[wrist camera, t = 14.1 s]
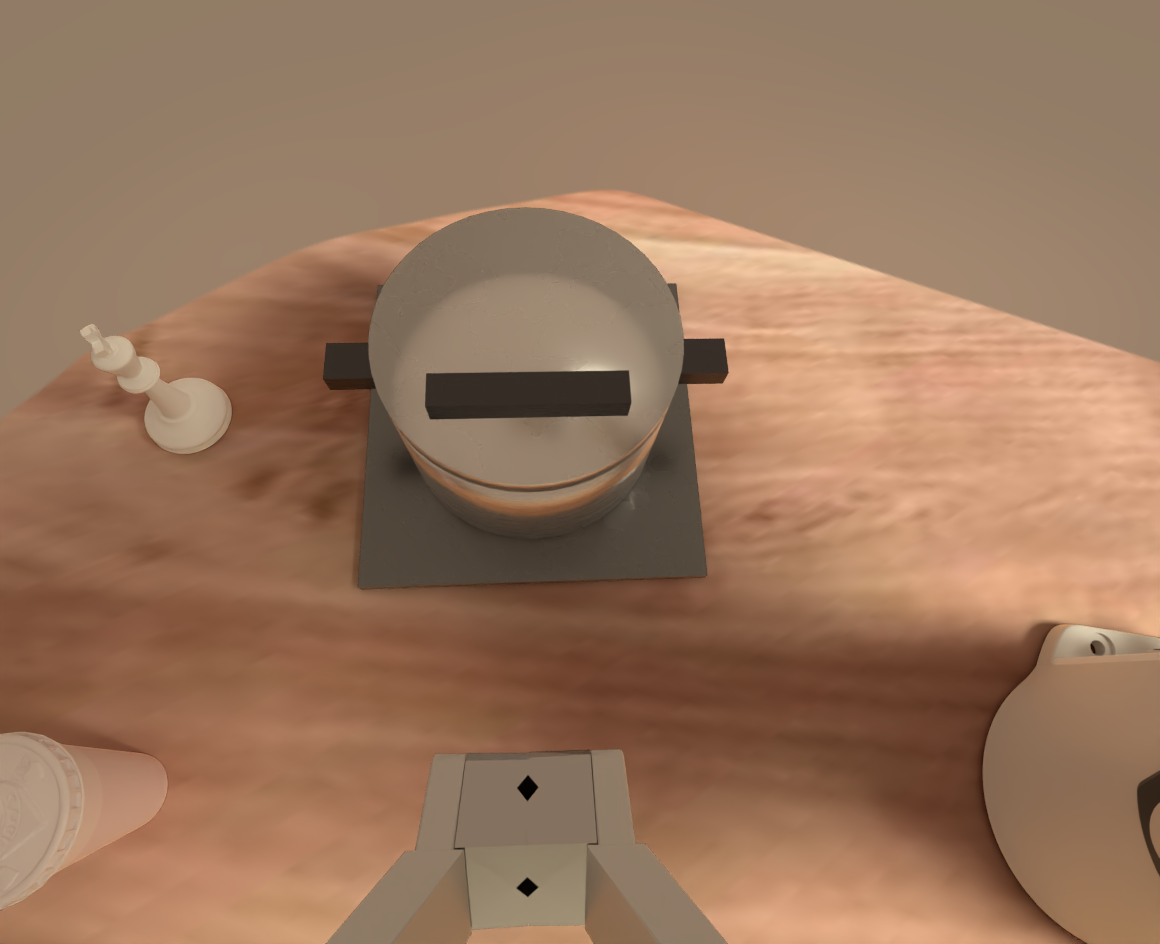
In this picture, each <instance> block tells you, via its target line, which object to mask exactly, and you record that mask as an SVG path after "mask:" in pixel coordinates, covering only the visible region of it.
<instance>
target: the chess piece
mask: <svg viewBox="0 0 1160 944" xmlns="http://www.w3.org/2000/svg"><path fill="white" fill-rule="evenodd" d="M80 333H81V335H82V337H83V338H84V339H86V340H87V341H88V342H90V343H91V345H92V347H93V348H92V351H91V361H92V363H93V365H94V366H95V367H96V368H98V369H99V370H102V371H104V372H108V373H113V374H117V380H118V383H119V385H120V386H121V388H122V389H123V390H125V391H127V392H129V393H142V392H144V393H145V394H146V395H147V396H148V397H149V398H150V401H149V403H148V405H147V407H146V410H145V415H144V423H145V427H146V430H147V432H148V434H149V436H150V437H151V438H152V439H153V440H154V441H155V443H156V444H157V445H158V446H160V447H161V448H163V449H164V450H166V451H169V452H172V453H176V454H191V453H196V452H199V451H202V450H204V449H206V448H208V447H210V446H211V445H213V444H214V443H216V442H217V441H218V440H219V439H220V438H221V437H222V436H223V434H224V433H225V432H226V430H227V428H228V426H229V424H230V421H231V416H232V407H231V402H230V400H229V398H228V396H227V394H226V393H225V392H224V391H223V390H222V389H221V388H220V387H218V386H216V385H215V384H213V383H212V382H210V381H207V380H205V379H201V378H182V379H178V380H175V381H172V382H170V383H166V382H164V381H163V380H161V379H159V377H160V368H159V366H158V364H157V363H156V362H155V361H153V360H152V359H149V358H146V357H137V355H136V351H135V349H134V347H133V345H132V343H131V342H130V341H129V340H128V339H126V338H124V337H122V336H108V337H105V338H102V335H101V333H100V331H99V329H98V328H97V327H96V326H95V325H94V324H90V325H88V326H85V327H84V328H83V329H81V330H80Z"/></svg>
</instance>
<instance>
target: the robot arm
mask: <svg viewBox="0 0 1160 944" xmlns="http://www.w3.org/2000/svg"><path fill="white" fill-rule="evenodd" d="M1091 643H1092V644H1093V646H1094V647H1095V654H1094V653H1093V652H1092V651H1091V648H1090V644H1091ZM983 789H984V797H985V803H986V808H987V812H988V816H989V820H990V823H991V827H992V830H993V833H994V835H995V838H996V840H997V843H998V845H999V847H1000V850H1001V852H1002V854H1003V856H1004V858H1005V860H1006V862H1007V864H1008V865H1009V867H1010V869H1011V870H1012V872H1013V874H1014V875H1015V877H1016V878H1017V880H1018V881H1019V883H1020V884H1021V885H1022V887H1023V888H1024V889H1025V891H1026V892H1027V893H1028V894H1029V896H1030V897H1031V898H1032V899H1033V900H1034V901H1035V903H1036V904H1037V905H1038V906H1039V907H1040V908H1041V909H1042V910H1043V911H1044V912H1045V913H1046V914H1047V915H1048V916H1049V917H1051V918H1052V919H1053V920H1054V921H1055V922H1056V923H1058V924H1059V925H1060V926H1061V927H1063V928H1064V929H1065V930H1067V931H1068V932H1070V933H1071V934H1072V935H1074V936H1076V937H1077V938H1079V939H1081V940H1082V941H1084V942H1085V943H1087V944H1160V638H1159V637H1153V636H1147V635H1140V634H1134V633H1128V632H1122V631H1116V630H1109V629H1103V628H1097V627H1091V626H1085V625H1077V624H1062V625H1057V626H1055V627H1053V628H1052V629H1051V630H1050V632H1049V633H1048V635H1047V637H1046V639H1045V641H1044V643H1043V646H1042V649H1041V652H1040V655H1039V658H1038V661H1037V664H1036V667H1035V668H1034V670H1033V671H1032V672H1031V673H1030V674H1029V676H1028V677H1027V678H1026V679H1025V680H1024V681H1022V682H1021V683H1020V684H1019V685H1018V686H1017V687H1016V688H1015V689H1014V690H1013V691H1012V692H1011V693H1010V694H1009V695H1008V697H1007V698H1006V699H1005V701H1004V702H1003V703H1002V705H1001V706H1000V708H999V710H998V711H997V713H996V715H995V717H994V719H993V722H992V724H991V727H990V730H989V733H988V736H987V740H986V745H985V750H984V757H983ZM528 923H529V926H568V925H585V929H586V931H587V933H588V935H589V936H590V938H591V940H592V942H593V943H594V944H728V943H727V942H726V941H725V939H724V938H723V937H722V936H721V935H720V933H719V932H718V931H717V930H716V929H715V927H714V926H713V925H712V924H711V923H710V921H709V920H708V919H707V918H706V916H705V915H704V914H703V913H702V912H701V910H700V909H699V908H698V907H697V906H696V904H695V903H694V902H693V901H692V900H691V898H690V897H689V896H688V895H687V893H686V892H685V891H684V890H683V889H682V887H681V886H680V885H679V884H678V883H677V881H676V880H675V879H674V878H673V876H672V875H671V874H670V873H669V872H668V870H667V869H666V868H665V867H664V866H663V864H662V863H661V862H660V861H659V860H658V858H657V857H656V856H655V855H654V853H653V852H652V851H651V850H650V849H649V847H648V846H647V845H646V844H645V843H636V842H635V835H634V827H633V820H632V812H631V805H630V797H629V790H628V782H627V775H626V767H625V760H624V754H623V752H622V750H621V749H614V750H591V751H590V750H570V751H545V752H529V753H463V754H435V756H434V758H433V760H432V763H431V767H430V773H429V778H428V783H427V789H426V794H425V799H424V805H423V810H422V815H421V821H420V826H419V831H418V837H417V842H416V847H415V851H405V852H404V853H403V854H402V856H401V857H400V858H399V859H398V860H397V861H396V863H395V864H394V865H393V866H392V867H391V868H390V870H389V871H388V872H387V873H386V874H385V875H384V876H383V878H382V879H381V880H380V881H379V882H378V883H377V885H376V886H375V887H374V888H373V889H372V890H371V892H370V893H369V894H368V895H367V896H366V897H365V899H364V900H363V901H362V902H361V903H360V904H359V906H358V907H357V908H356V909H355V910H354V911H353V913H352V914H351V915H350V916H349V917H348V918H347V920H346V921H345V922H344V923H343V924H342V925H341V927H340V928H339V929H338V930H337V931H336V932H335V934H334V935H333V936H332V937H331V938H330V939H329V941H328V942H327V943H326V944H466V942H467V941H468V939H469V937H470V936H471V930H476V929H490V928H505V927H519V926H528Z"/></svg>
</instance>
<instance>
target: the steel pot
mask: <svg viewBox="0 0 1160 944" xmlns="http://www.w3.org/2000/svg"><path fill="white" fill-rule="evenodd" d="M667 285H668V287H669V289H670V291H671V293H672V295H673V297H674V299H675V302H676V305H677V308H678V311H679V304H678V295H677V286H676V284H667ZM382 288H383V286H378V291H377V299H378V297H379V295H380V293H381V290H382ZM728 373H729V372H728V365H727V357H726V349H725V342H724V339H684V355H683V364H682V371H681V374H680V378H679V382H678V386H677V388H676V391H675V393H674V396H673V398H672V400H671V403H670V405H669V407H668V409H667V412H666V414H665V416H664V417H663V419H662V421H661V422H660V424H659V426H658V427H657V429H656V430H655V432H654V433H653V434H652V435H651V436H650V438H649V439H648V440H647V441H646V442H645V444H644V445H643V446H642V447H641V448H639V449H638V450H637V451H636V452H635V453H634V454H633V455H632V456H631V457H630V458H628V459H627V460H625V461H624V462H623V463H621V464H620V465H618V466H617V467H615V468H614V469H612V470H610V471H608V472H606V473H605V474H603V475H601V476H599V477H597V478H595V479H592V480H589V481H587V482H584V483H581V484H578V485H575V486H572V487H567V488H562V489H558V490H553V491H542V492H509V491H503V490H497V489H491V488H487V487H483V486H480V485H477V484H473V483H470V482H467V481H465V480H463V479H460V478H458V477H456V476H454V475H451V474H449V473H448V472H446V471H444V470H443V469H441V468H439V467H438V466H436V465H434V464H433V463H431V462H430V461H429V460H428V459H426V458H425V457H424V456H423V455H421V454H420V453H419V452H418V451H417V450H415V448H414V447H413V446H412V445H411V444H410V443H409V442H408V441H407V440H406V439H405V438H404V437H403V435H402V434H401V433H400V431H399V430H398V428H397V427H396V425H395V424H394V423H393V421H392V420H391V418H390V416H389V414H388V412H387V410H386V408H385V406H384V404H383V402H382V400H381V398H380V396H379V394H378V392H377V389H376V386H375V383H374V380H373V377H372V373H371V367H370V361H369V343H326V353H325V364H324V375H323V380H324V381H325V382H326V384H327V385H328V387H329V388H330V390H346V389H371V397H370V412H369V427H368V442H367V458H366V473H365V488H364V503H363V518H362V533H361V548H360V563H359V578H358V588H359V589H382V588H412V587H441V586H470V585H499V584H528V583H557V582H586V581H615V580H644V579H673V578H702V577H706V576H707V568H706V558H705V549H704V539H703V530H702V521H701V511H700V502H699V492H698V483H697V474H696V464H695V455H694V445H693V436H692V427H691V417H690V408H689V398H688V389H687V384H715V383H723V382H724V380H725V378H726V376H727V375H728Z"/></svg>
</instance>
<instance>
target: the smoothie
mask: <svg viewBox="0 0 1160 944" xmlns="http://www.w3.org/2000/svg"><path fill="white" fill-rule="evenodd" d="M167 789H168V780H167V774H166V771H165V769H164V767H163V766H162V764H161V763H160V762H159V761H158V760H157V759H156V758H154V757H153V756H151V755H148V754H144V753H136V752H127V751H118V750H110V749H101V748H92V747H83V746H75V745H66V744H60V743H58V742H56V741H54V740H52V739H50V738H48V737H46V736H44V735H42V734H36V733H29V732H23V731H21V732H12V733H3V734H0V910H2V909H4V908H7V907H9V906H12V905H14V904H17V903H19V902H21V901H22V900H23V899H25V898H26V897H28V896H29V895H31V894H32V893H33V892H35V891H36V890H38V889H39V888H41V887H42V886H43V885H44V884H45V883H46V882H47V881H48V879H49V878H50V877H51V876H52V875H54V874H56V873H57V872H59V871H61V870H63V869H64V868H66V867H68V866H70V865H72V864H74V863H76V862H77V861H79V860H81V859H83V858H85V857H87V856H88V855H90V854H92V853H94V852H96V851H98V850H99V849H101V848H103V847H105V846H107V845H109V844H111V843H112V842H114V841H116V840H118V839H120V838H122V837H123V836H125V835H127V834H129V833H131V832H133V831H134V830H136V829H138V828H140V827H142V826H144V825H145V824H146V823H148V822H149V821H150V820H151V819H152V818H153V817H154V816H155V815H156V814H157V813H158V811H159V810H160V808H161V807H162V805H163V803H164V800H165V798H166V794H167Z"/></svg>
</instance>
